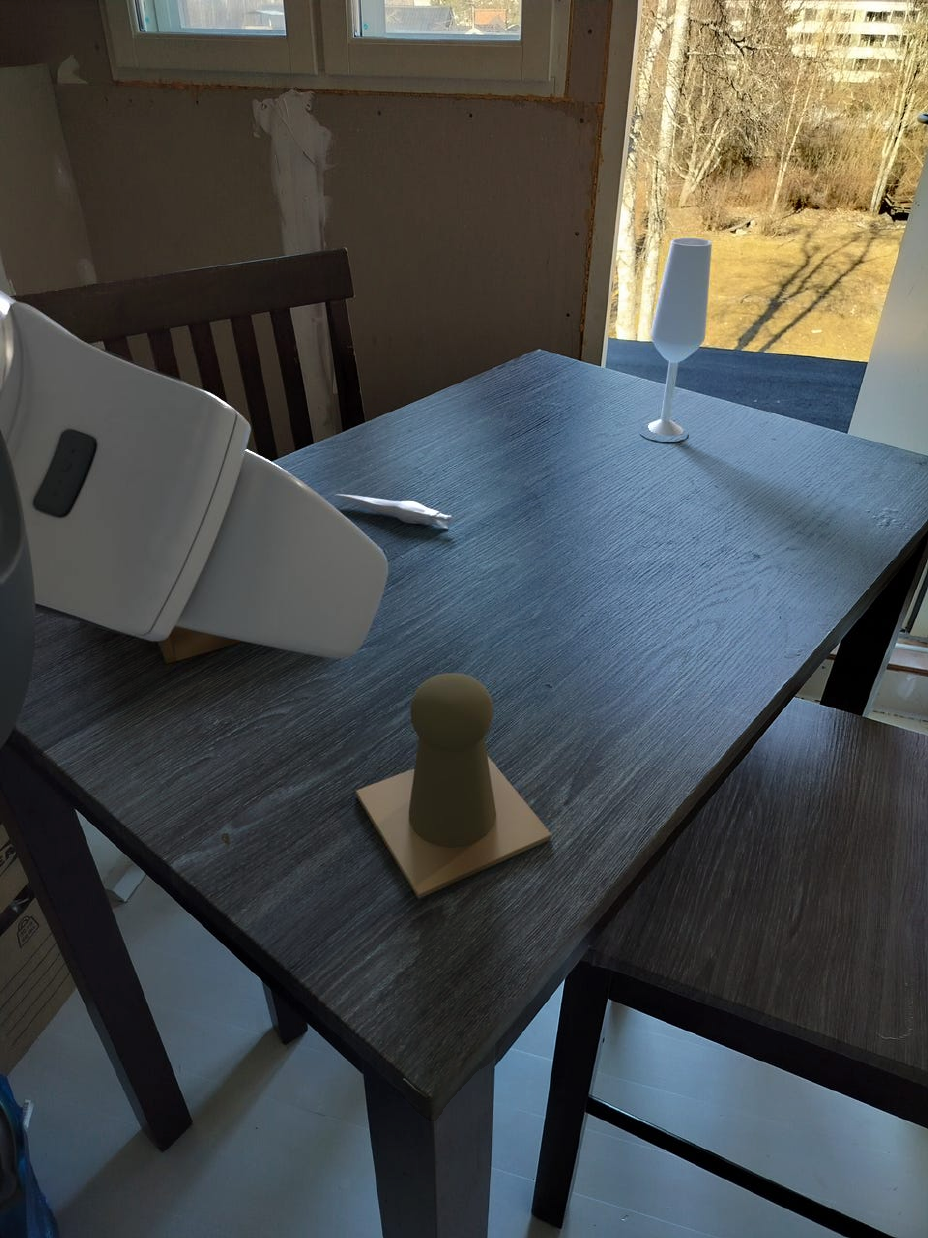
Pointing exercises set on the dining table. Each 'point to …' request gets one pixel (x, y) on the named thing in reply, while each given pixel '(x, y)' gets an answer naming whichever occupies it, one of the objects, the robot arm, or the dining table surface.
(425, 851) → the coaster
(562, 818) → the dining table surface
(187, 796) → the dining table surface
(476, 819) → the olive game pawn
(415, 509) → the white animal figurine
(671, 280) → the champagne flute
